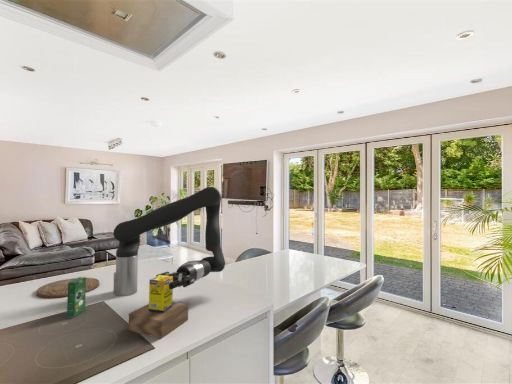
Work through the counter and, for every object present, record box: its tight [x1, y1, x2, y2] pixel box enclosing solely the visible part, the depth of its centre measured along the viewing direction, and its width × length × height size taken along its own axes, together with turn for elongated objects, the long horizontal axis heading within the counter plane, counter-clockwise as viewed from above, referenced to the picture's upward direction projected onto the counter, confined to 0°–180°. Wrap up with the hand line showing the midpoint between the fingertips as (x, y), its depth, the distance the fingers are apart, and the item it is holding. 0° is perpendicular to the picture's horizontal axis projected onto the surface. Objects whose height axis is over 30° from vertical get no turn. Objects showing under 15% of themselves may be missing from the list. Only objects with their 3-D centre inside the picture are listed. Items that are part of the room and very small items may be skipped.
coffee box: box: [66, 276, 87, 319], centre depth 104 cm, size 8×3×13 cm, turn 6°
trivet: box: [36, 277, 100, 299], centre depth 131 cm, size 25×25×2 cm
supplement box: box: [148, 274, 174, 313], centre depth 96 cm, size 6×6×11 cm
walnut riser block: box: [128, 301, 189, 340], centre depth 95 cm, size 14×14×6 cm
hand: (160, 284), depth 96 cm, fingers open, 8 cm apart
